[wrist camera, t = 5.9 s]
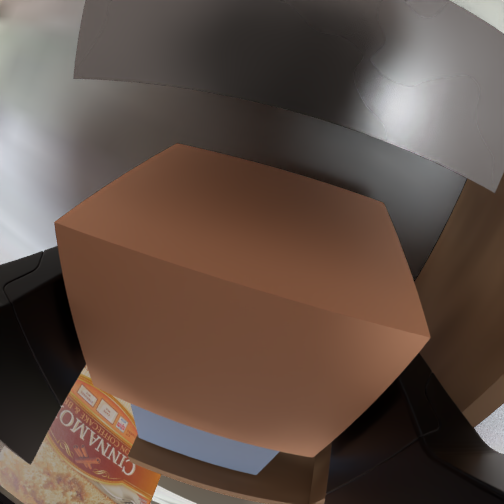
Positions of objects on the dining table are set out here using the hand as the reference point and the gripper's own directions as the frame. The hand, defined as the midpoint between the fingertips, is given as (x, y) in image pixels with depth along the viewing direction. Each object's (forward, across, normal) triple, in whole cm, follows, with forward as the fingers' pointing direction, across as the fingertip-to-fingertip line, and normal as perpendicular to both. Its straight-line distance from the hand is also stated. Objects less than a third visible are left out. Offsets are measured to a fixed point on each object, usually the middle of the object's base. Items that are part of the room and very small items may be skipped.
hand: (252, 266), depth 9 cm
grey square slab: (+2, 0, -6) cm, 6 cm away
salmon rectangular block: (+1, 0, 0) cm, 1 cm away
